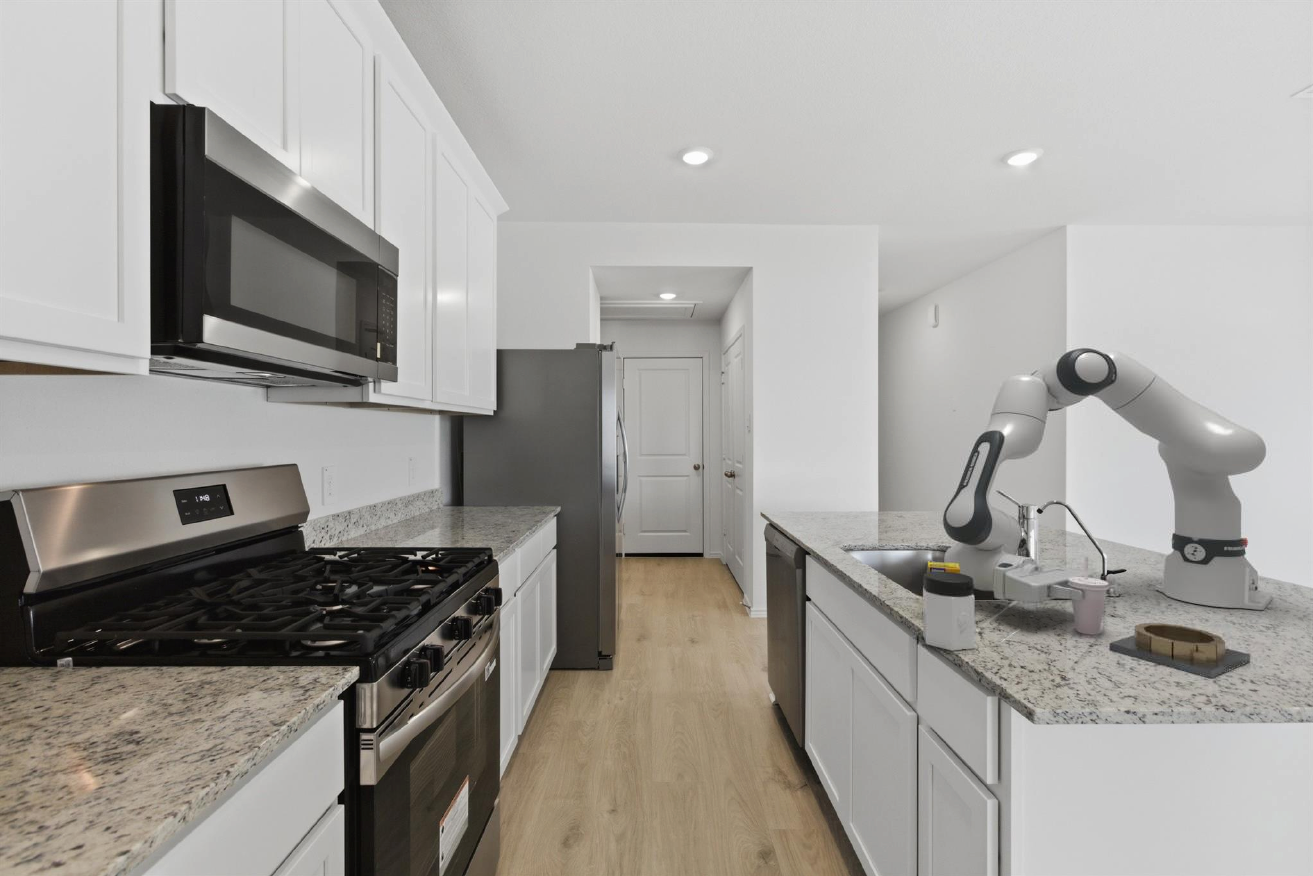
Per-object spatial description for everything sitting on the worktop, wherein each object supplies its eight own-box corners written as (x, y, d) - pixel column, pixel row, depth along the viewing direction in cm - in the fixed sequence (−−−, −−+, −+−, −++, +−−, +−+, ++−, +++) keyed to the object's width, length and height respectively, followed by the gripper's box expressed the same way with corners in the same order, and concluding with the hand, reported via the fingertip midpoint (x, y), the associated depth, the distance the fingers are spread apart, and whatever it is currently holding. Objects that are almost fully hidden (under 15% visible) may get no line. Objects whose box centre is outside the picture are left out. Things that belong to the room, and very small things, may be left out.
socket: (1150, 636, 114) (1150, 616, 114) (1250, 661, 102) (1250, 639, 102) (1109, 649, 107) (1109, 628, 107) (1211, 678, 95) (1211, 654, 95)
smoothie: (1095, 626, 120) (1095, 554, 120) (1116, 638, 113) (1117, 561, 113) (1060, 625, 120) (1060, 554, 120) (1079, 637, 114) (1080, 561, 114)
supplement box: (927, 620, 124) (927, 566, 124) (926, 612, 130) (926, 560, 130) (960, 623, 122) (960, 568, 122) (958, 615, 128) (958, 562, 128)
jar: (941, 653, 107) (941, 583, 106) (912, 637, 114) (912, 572, 114) (986, 648, 109) (986, 580, 108) (954, 633, 116) (954, 570, 116)
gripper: (1049, 586, 133) (1122, 602, 121) (989, 599, 123) (1062, 618, 111) (1049, 557, 133) (1122, 569, 121) (989, 568, 123) (1062, 583, 111)
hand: (1093, 593), depth 116 cm, fingers closed on smoothie, 6 cm apart
